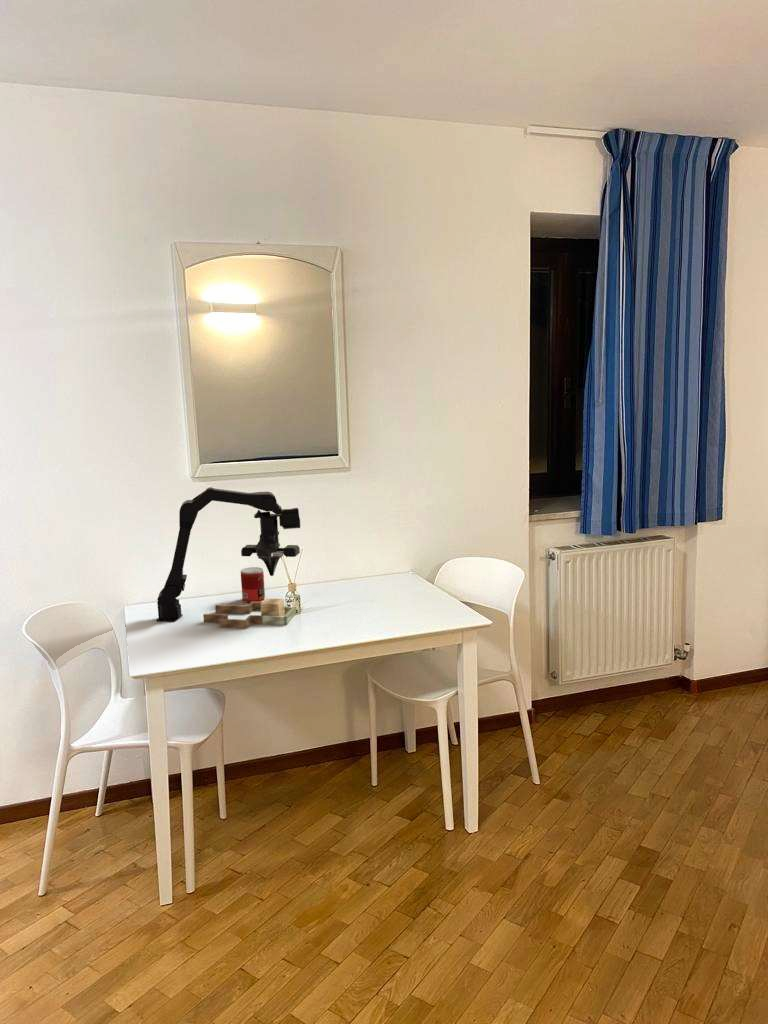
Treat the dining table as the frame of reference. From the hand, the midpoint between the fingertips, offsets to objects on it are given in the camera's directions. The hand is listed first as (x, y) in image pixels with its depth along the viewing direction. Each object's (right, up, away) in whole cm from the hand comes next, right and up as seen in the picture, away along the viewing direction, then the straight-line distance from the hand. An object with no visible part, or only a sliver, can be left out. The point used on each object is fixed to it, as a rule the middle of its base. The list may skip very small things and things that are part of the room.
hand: (271, 575), depth 255 cm
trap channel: (-6, -13, -6) cm, 16 cm away
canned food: (-9, -10, +15) cm, 20 cm away
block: (+1, -14, -7) cm, 15 cm away
